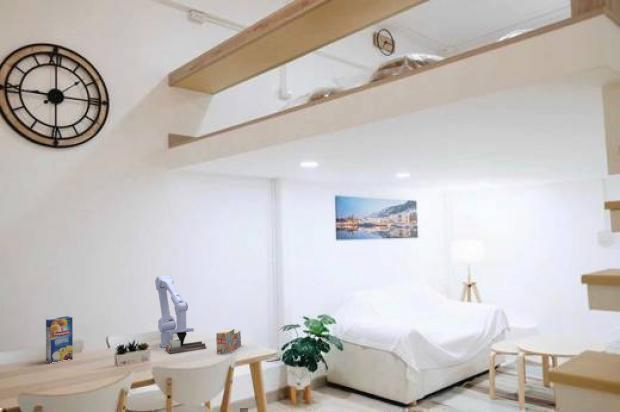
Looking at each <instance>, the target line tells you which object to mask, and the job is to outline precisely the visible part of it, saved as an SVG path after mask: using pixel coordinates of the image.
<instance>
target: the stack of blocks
mask: <svg viewBox="0 0 620 412" xmlns="http://www.w3.org/2000/svg"><path fill="white" fill-rule="evenodd" d="M215 335H216V336H215V337H216V339H215V340H216V355H217V354H220V355H227V354H228V353H229V354H230V353H231V352H233V351H234V350H236V349H237V348H239V347H240V346H241V345H242V342H241V341H242V335H241V330H235V328H224V329H221V330H220V331H218V332H216V334H215Z"/></svg>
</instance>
